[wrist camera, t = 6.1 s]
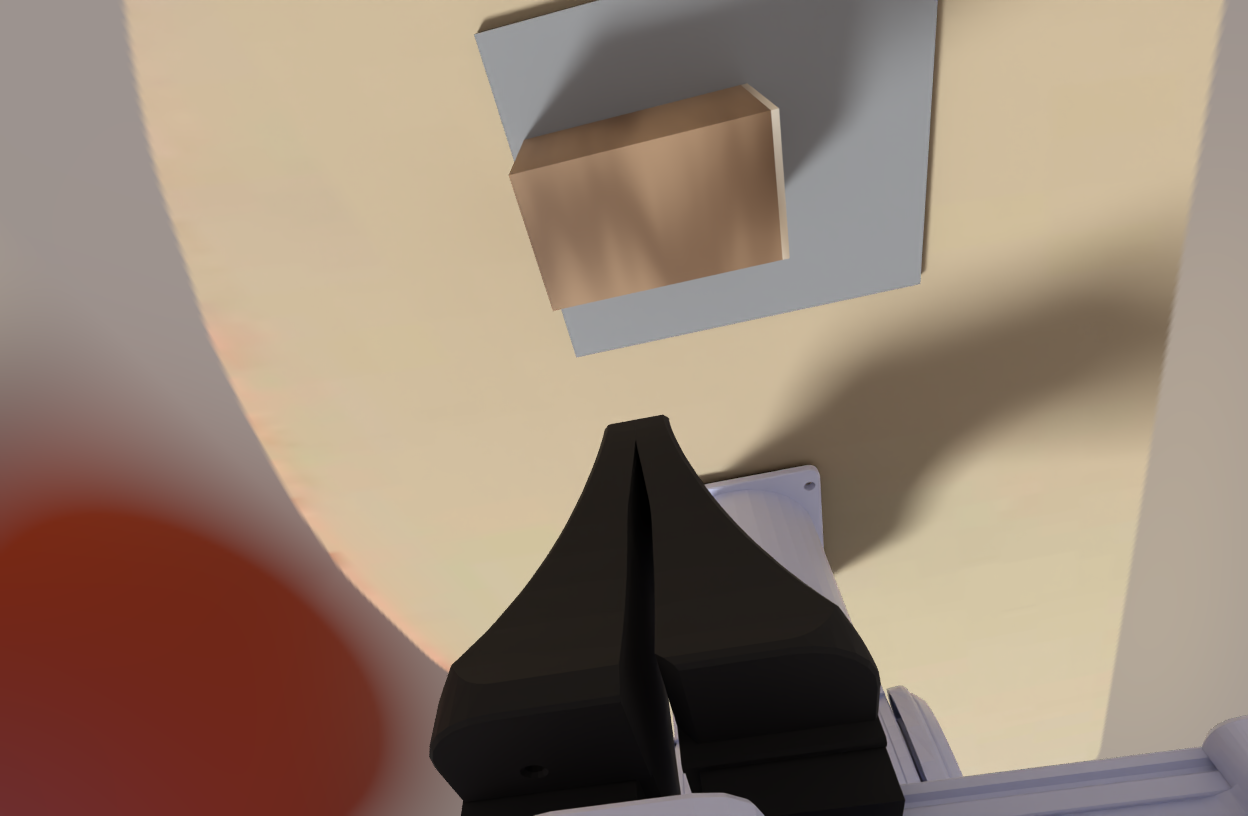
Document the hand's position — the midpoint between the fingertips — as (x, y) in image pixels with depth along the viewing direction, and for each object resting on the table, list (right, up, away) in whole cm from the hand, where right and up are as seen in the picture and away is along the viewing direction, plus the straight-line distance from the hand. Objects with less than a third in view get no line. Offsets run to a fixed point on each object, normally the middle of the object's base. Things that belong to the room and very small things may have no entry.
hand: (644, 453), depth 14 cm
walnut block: (+4, +8, +4) cm, 10 cm away
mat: (+3, +9, +7) cm, 11 cm away
